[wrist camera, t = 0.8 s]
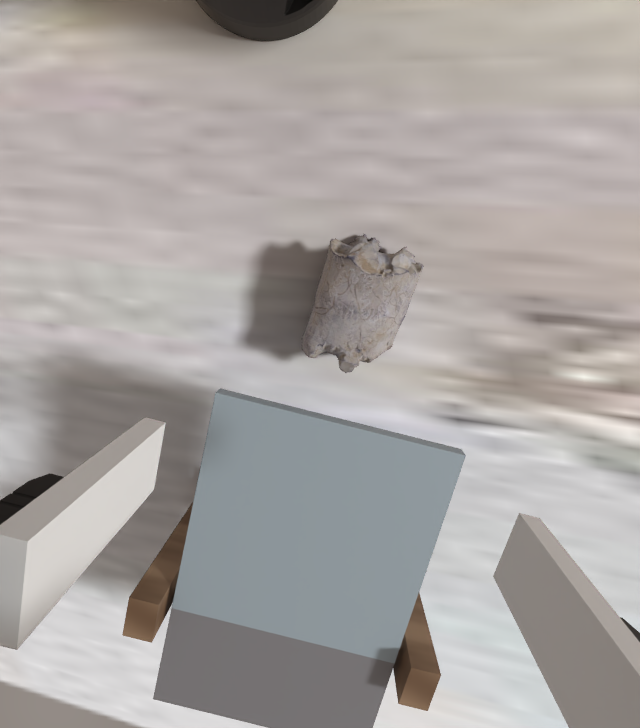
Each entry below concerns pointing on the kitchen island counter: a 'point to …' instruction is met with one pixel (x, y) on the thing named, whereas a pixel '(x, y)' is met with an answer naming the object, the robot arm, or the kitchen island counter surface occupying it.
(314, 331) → the stone
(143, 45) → the kitchen island counter surface
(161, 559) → the frame
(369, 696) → the trapdoor
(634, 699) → the robot arm
